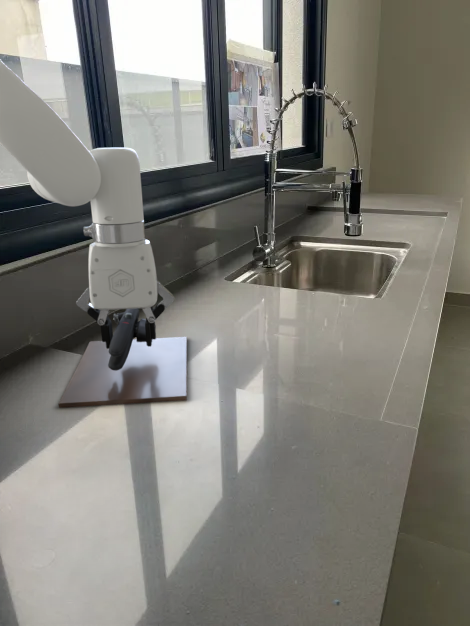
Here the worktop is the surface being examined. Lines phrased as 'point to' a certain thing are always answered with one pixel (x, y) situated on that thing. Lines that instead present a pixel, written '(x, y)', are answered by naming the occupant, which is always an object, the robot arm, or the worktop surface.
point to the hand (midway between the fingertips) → (129, 343)
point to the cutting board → (130, 375)
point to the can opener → (125, 336)
